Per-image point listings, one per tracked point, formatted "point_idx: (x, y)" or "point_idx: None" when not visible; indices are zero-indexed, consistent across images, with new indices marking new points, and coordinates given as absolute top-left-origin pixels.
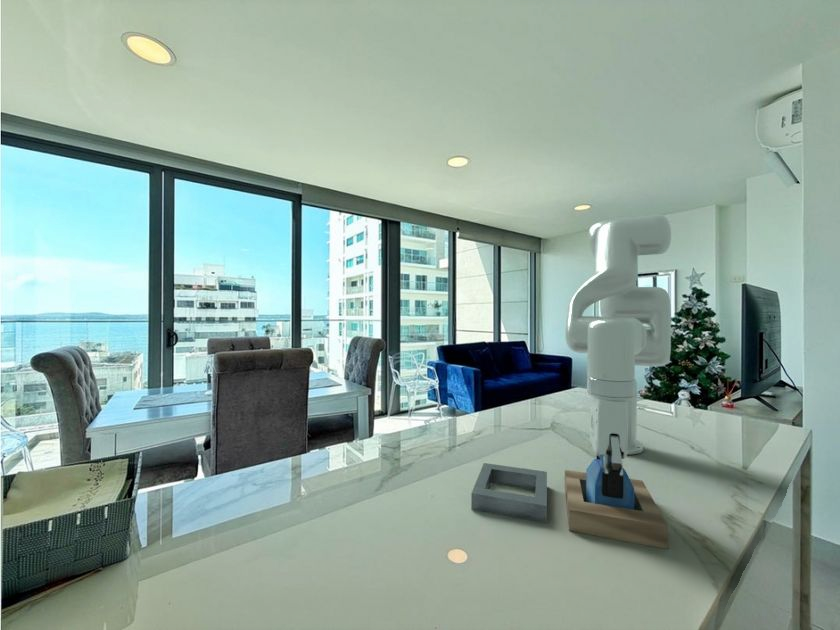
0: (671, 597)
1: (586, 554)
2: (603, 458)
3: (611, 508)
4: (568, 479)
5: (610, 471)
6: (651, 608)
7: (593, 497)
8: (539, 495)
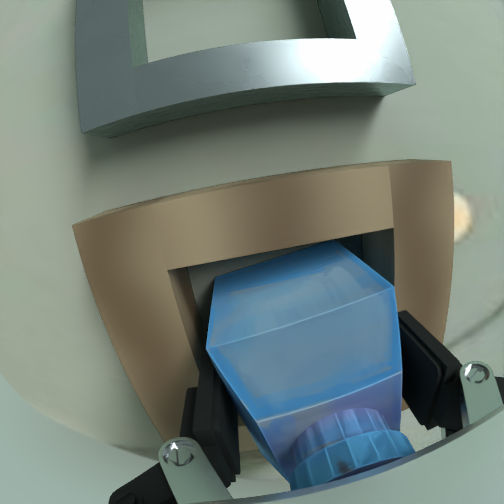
0: (43, 392)
1: (39, 268)
2: (225, 499)
3: (177, 361)
4: (370, 179)
5: (139, 479)
6: (5, 362)
7: (233, 302)
8: (153, 78)
